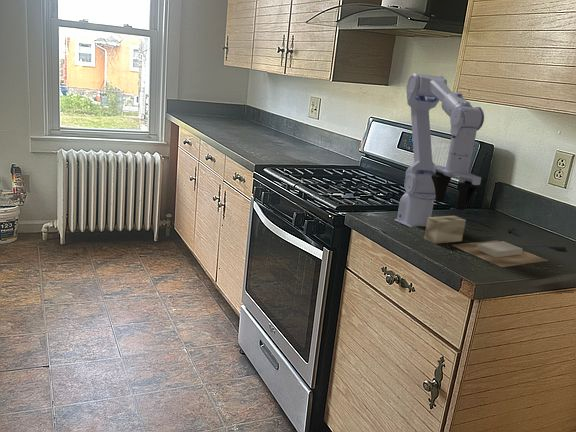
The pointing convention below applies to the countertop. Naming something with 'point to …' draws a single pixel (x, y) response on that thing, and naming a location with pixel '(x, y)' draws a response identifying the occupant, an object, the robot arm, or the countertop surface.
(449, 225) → the tan mottled block
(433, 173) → the robot arm
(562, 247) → the bracket
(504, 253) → the tile
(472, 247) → the cork mat
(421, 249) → the countertop surface
